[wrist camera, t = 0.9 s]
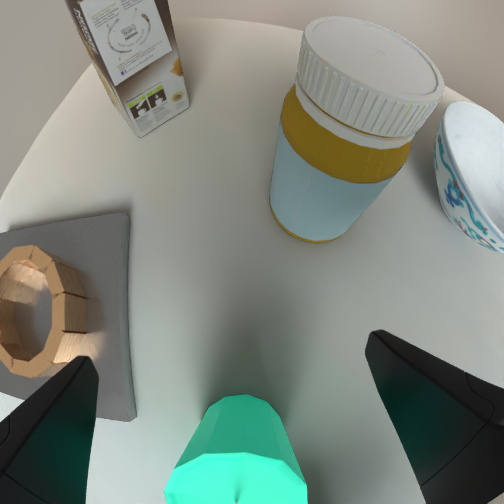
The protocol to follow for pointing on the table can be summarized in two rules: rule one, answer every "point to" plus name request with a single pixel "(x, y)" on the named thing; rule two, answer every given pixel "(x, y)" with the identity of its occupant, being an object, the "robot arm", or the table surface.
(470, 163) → the chinaware
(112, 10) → the coffee box
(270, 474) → the candle
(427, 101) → the bottle
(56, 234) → the square plate with hole
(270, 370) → the table surface
